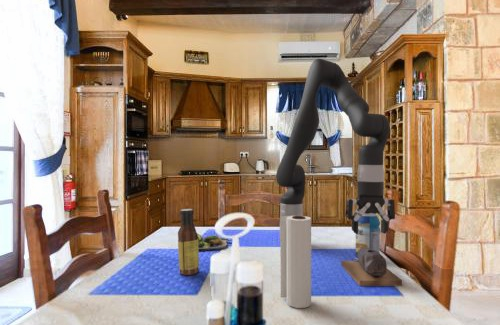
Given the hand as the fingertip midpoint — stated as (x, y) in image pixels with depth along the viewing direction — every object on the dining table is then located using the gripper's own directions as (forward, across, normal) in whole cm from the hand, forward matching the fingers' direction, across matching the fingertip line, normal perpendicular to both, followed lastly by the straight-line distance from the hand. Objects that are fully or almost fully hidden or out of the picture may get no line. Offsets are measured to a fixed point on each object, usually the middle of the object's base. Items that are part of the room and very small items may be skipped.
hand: (369, 232), depth 95 cm
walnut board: (+13, 0, -1) cm, 13 cm away
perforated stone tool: (+12, 0, 0) cm, 12 cm away
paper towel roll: (+13, +24, +17) cm, 33 cm away
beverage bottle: (+13, -5, -15) cm, 21 cm away
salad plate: (+15, +55, -35) cm, 66 cm away
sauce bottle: (+14, +56, -4) cm, 57 cm away
